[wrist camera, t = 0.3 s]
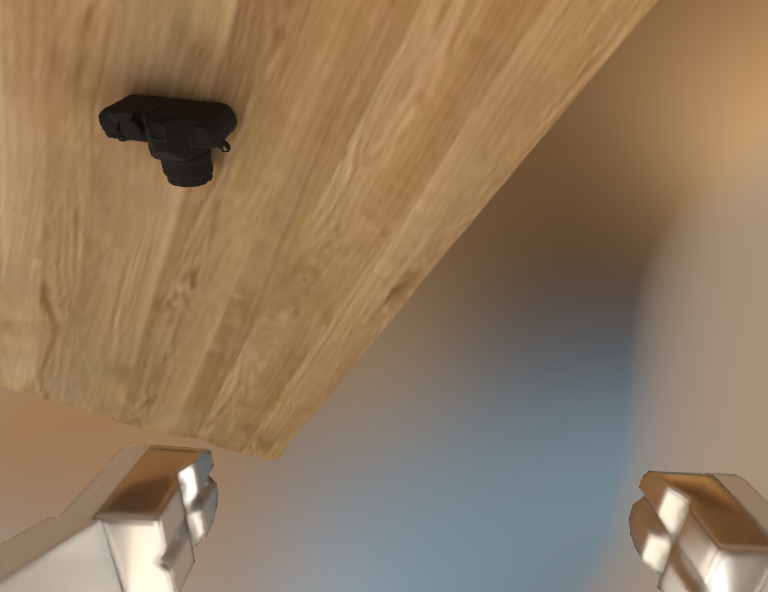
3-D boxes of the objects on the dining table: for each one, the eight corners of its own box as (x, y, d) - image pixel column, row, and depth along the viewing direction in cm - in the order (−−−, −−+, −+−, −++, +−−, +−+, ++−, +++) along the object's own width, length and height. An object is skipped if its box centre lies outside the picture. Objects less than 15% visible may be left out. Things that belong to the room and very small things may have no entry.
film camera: (140, 161, 58) (105, 190, 51) (119, 87, 52) (76, 108, 45) (249, 173, 59) (228, 203, 52) (240, 101, 52) (216, 124, 45)
